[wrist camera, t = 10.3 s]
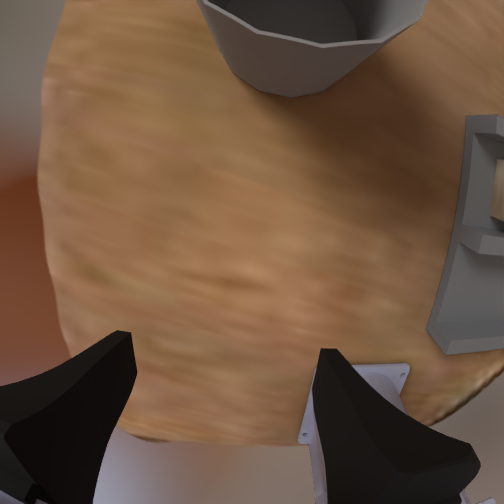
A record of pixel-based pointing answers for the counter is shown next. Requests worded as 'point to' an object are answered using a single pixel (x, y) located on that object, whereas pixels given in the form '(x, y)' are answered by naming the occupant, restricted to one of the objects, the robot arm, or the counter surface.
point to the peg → (498, 192)
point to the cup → (303, 38)
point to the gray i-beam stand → (474, 251)
